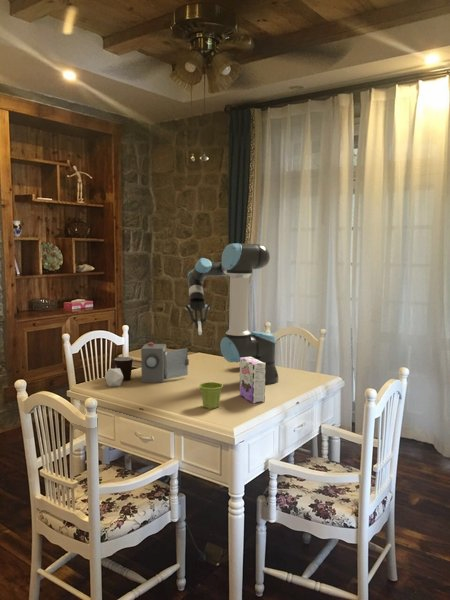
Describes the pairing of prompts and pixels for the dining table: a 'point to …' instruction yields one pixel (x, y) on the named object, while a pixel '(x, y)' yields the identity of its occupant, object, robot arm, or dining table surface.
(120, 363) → the coffee mug
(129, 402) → the dining table surface
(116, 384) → the die
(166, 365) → the side door
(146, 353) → the grey inset panel box
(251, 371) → the candy box
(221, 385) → the plant pot
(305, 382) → the dining table surface
